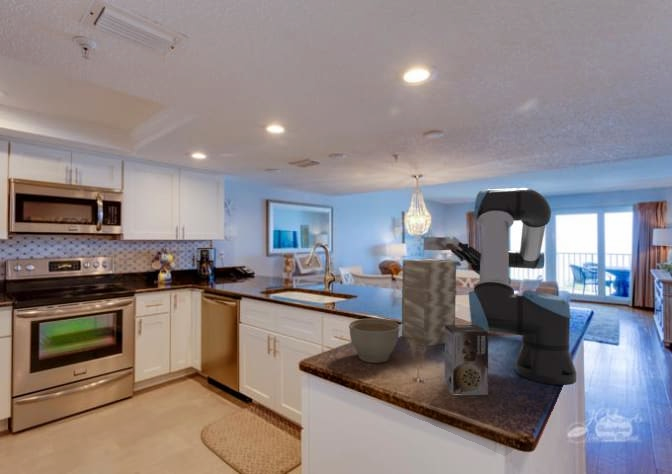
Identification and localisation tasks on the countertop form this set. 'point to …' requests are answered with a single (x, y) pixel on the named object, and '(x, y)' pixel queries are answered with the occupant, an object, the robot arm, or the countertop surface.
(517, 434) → the countertop surface
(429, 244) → the brown box and bar
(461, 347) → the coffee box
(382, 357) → the planter bowl
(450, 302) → the birch shelf
